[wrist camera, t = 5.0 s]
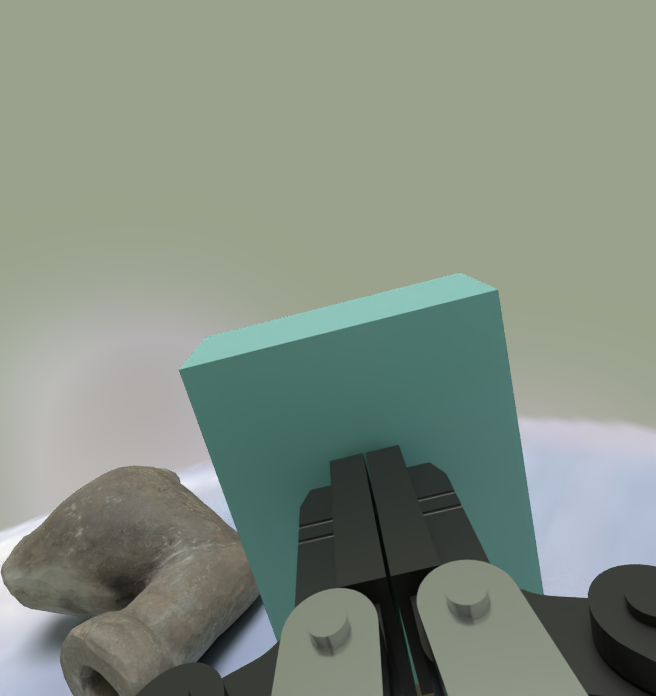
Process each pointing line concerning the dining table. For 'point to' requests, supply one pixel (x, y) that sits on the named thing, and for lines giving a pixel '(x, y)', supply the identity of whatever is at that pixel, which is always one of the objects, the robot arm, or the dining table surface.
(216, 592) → the pipe
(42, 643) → the dining table surface
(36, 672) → the dining table surface
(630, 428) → the dining table surface
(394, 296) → the teal flat board
